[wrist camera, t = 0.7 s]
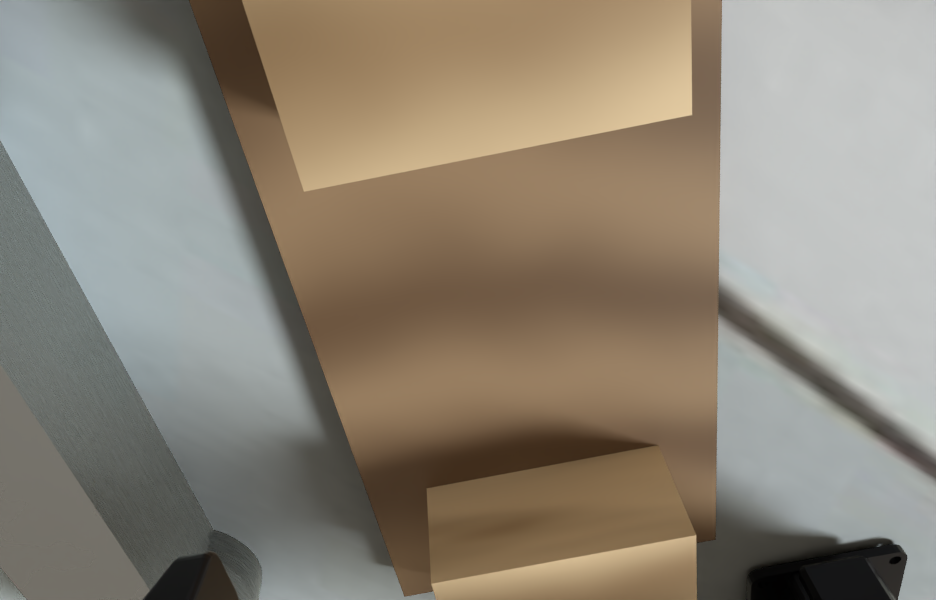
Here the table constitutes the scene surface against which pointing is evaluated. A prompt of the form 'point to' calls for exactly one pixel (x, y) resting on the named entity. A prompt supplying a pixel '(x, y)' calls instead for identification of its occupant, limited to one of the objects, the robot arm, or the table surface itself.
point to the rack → (502, 271)
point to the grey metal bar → (82, 440)
